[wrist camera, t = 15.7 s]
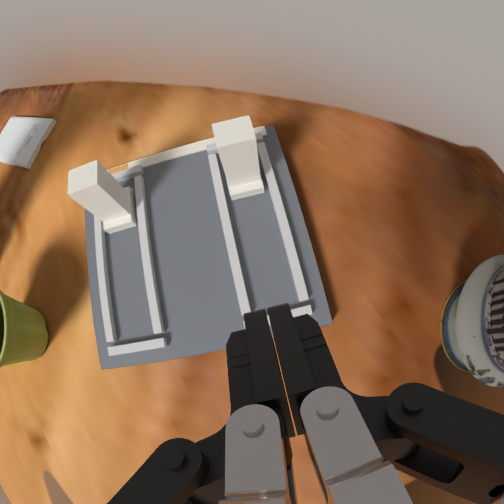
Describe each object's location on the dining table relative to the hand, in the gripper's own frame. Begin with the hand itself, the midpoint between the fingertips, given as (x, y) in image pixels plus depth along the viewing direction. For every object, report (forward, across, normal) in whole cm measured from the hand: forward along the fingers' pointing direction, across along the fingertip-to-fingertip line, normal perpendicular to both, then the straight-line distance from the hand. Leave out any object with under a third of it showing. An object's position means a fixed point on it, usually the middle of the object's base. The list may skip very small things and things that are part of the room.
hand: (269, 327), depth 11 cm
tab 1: (+23, +12, +1) cm, 26 cm away
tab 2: (+22, -1, +1) cm, 23 cm away
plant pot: (+17, +27, +10) cm, 34 cm away
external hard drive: (+38, +31, -10) cm, 50 cm away
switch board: (+20, +6, +6) cm, 22 cm away
